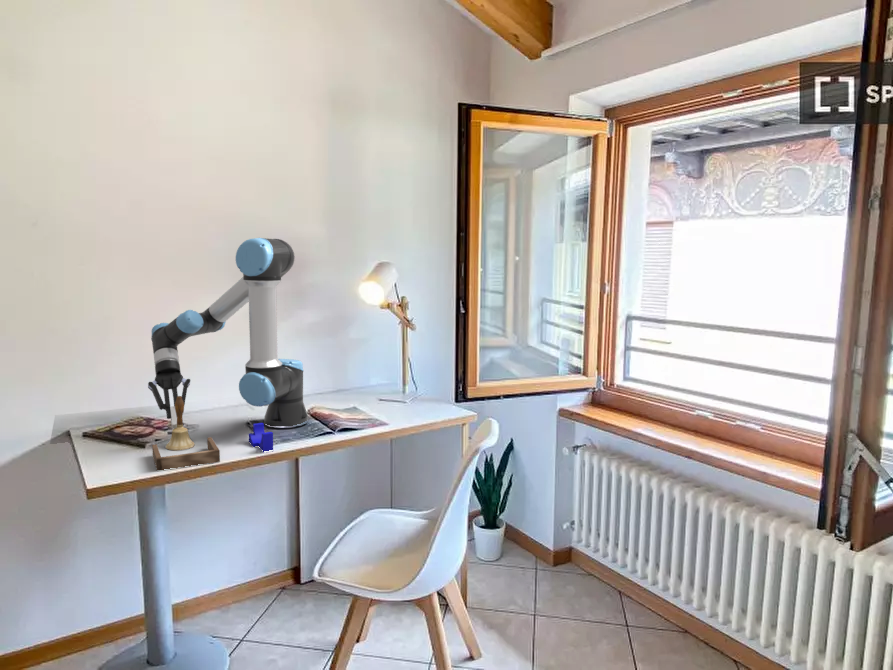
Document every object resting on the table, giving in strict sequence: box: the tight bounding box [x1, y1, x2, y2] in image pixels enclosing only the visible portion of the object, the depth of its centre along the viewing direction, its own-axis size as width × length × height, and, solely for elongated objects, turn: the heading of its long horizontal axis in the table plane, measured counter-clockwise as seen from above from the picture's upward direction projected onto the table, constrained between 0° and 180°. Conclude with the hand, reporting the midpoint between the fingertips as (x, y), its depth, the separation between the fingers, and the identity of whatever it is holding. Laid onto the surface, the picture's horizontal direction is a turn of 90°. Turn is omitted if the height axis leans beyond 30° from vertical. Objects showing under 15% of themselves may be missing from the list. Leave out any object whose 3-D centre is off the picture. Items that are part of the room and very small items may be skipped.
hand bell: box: [165, 395, 195, 451], centre depth 181 cm, size 8×8×16 cm
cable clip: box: [248, 422, 274, 453], centre depth 184 cm, size 12×4×6 cm, turn 32°
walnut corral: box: [151, 436, 221, 471], centre depth 171 cm, size 16×13×4 cm
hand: (174, 426), depth 186 cm, fingers closed
